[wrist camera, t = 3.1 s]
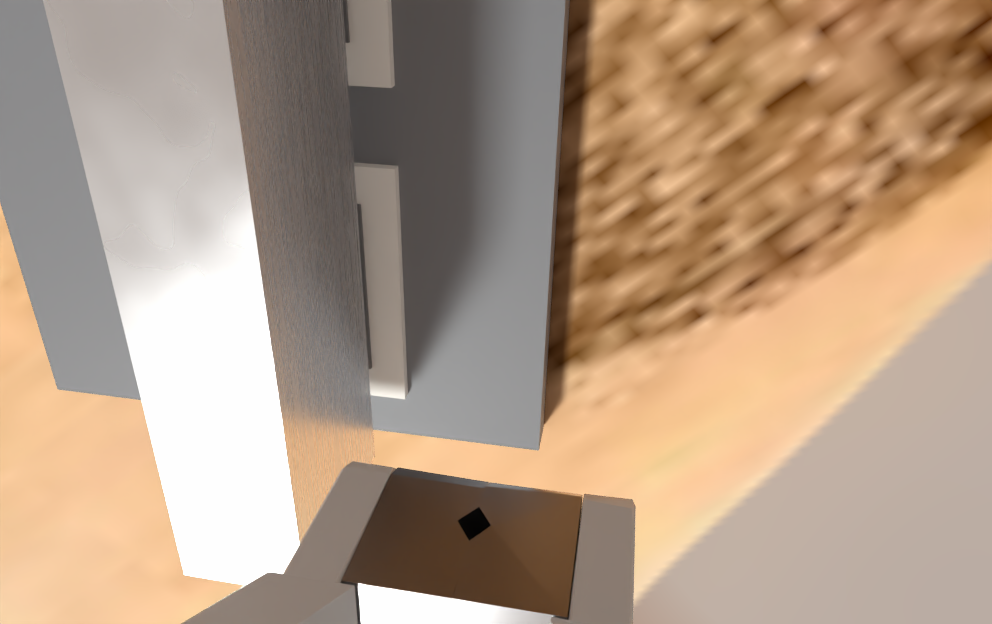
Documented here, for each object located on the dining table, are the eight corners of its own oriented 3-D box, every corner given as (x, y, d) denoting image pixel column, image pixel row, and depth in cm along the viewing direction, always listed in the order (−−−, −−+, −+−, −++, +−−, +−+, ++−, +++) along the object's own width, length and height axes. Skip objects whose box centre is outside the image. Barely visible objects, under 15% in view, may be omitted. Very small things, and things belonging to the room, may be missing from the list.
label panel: (-122, -343, 17) (-191, -365, 16) (592, -362, 15) (586, -390, 13) (81, 370, 26) (49, 396, 25) (543, 426, 24) (536, 458, 22)
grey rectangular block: (167, -712, 13) (-383, -1415, 6) (364, -731, 13) (10, -1523, 6) (302, 389, 24) (160, 589, 17) (410, 403, 24) (310, 614, 17)
